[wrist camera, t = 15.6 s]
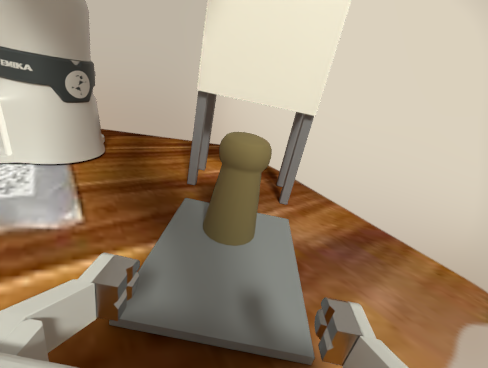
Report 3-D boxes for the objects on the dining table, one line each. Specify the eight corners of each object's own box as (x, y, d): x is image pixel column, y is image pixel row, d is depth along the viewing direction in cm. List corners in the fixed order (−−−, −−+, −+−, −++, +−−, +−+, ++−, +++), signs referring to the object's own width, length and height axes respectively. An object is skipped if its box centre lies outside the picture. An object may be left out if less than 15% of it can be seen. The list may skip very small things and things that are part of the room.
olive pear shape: (207, 210, 31) (221, 122, 27) (254, 218, 31) (276, 134, 27) (198, 240, 26) (214, 136, 21) (255, 250, 26) (283, 150, 21)
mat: (311, 364, 17) (314, 357, 17) (109, 324, 17) (109, 316, 16) (286, 224, 34) (288, 219, 33) (184, 203, 33) (185, 197, 33)
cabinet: (287, 207, 38) (359, -26, 27) (185, 185, 38) (214, -59, 27) (282, 182, 48) (334, 1, 36) (200, 165, 47) (226, -23, 36)
